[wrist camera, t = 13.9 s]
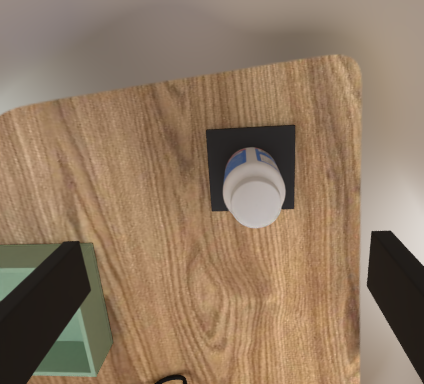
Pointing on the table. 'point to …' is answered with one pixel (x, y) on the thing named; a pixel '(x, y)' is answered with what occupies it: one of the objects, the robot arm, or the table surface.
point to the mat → (244, 138)
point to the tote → (79, 324)
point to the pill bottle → (253, 188)
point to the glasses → (173, 377)
